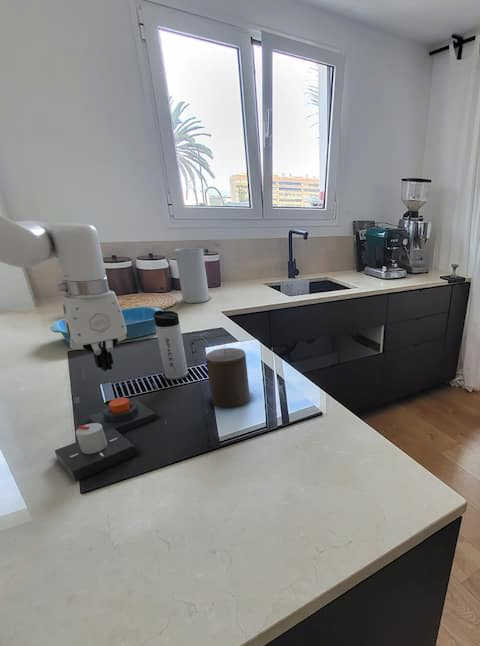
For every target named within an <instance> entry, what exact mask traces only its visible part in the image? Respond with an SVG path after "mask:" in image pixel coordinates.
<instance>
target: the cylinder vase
mask: <svg viewBox="0 0 480 646" xmlns="http://www.w3.org/2000/svg"><path fill="white" fill-rule="evenodd" d="M174 252H175V259H176V265H177V272H178V278H179V283H180V284H179V285H180V291H181V297H182V301H183V302H184V303H188V304H200V303H201V304H202V303H205V302H208V301H209V300H210V294H209V287H208V285H209V284H208V277H207V271H206V262H205V256H204V249H203V248H198V247H183V248H181V247H180V248H176V249H175V248H174Z"/></svg>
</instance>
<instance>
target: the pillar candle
mask: <svg viewBox="0 0 480 646" xmlns="http://www.w3.org/2000/svg"><path fill="white" fill-rule="evenodd" d="M205 362H206V369H207V376H208V384H209V390H210V391H209V392H210V397H211V404H212V405H213V406H214V407H216V408H219V409H235V408H240V407H243V406H244V405H246V404H248V403H249V401H250V400H251V395H250V385H249V375H248V366H247V365H248V364H247V356H246V351H245V350H244V349H242V348H237V347H223V348H217V349H213V350H211V351H209V352H207V353H206V354H205Z"/></svg>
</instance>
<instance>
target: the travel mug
mask: <svg viewBox="0 0 480 646" xmlns="http://www.w3.org/2000/svg"><path fill="white" fill-rule="evenodd" d="M162 310H163V309H162ZM162 310H159V311H155V313H154V320H155V326H156V336H157V341H158V346H159V352H160V356H161V361H162V367H163V372H164V377H165V379H167V380H170V381H176V380H182V379H185V378H187V376H188V375H189V371H188V365H187V358H186V353H185V348H184V341H183V335H182V330H181V322H180V318H179V313H177V312H176V311H172V310H163V311H162Z"/></svg>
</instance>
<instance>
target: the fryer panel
mask: <svg viewBox="0 0 480 646" xmlns="http://www.w3.org/2000/svg"><path fill="white" fill-rule="evenodd" d="M104 435H105V438H106V442H107V446H106V448H104V449H103V450H101V451H99V452H97V453H93V454H84V453H83V452H82V451H81V448H80V445H79V441H78V440H77V441H75V442H72V443H70V444H68V445H65V446H62V447H60V448H57V449H55V450H54V453H55V456H56V459H57V461H58V462H59V463H60V465H61V466H62V467H63V468H64V470H65V471H66V472H67V473H68V474H69V476H70V477H71V478H72V479H73V481H74V482H78V481H80V480H83V479H85V478H87V477H89V476H92V475H94V474H96V473H98V472H100V471H103V470H106V469H108V468H110V467H112V466H115V465H117V464H119V463H122V462H124V461H126V460H128V459H130V458H132V457H135V456H136V455H137V453H136V452H137V451H136V449H135V445H134V444H133V443H132V442H130V441H129V440H128V439H127V438H126V437H125V436H124V435H122V434H121V433H119V432H118V431H116V430H115V429H114V428H112V429H110V430H107V431H104Z"/></svg>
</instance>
